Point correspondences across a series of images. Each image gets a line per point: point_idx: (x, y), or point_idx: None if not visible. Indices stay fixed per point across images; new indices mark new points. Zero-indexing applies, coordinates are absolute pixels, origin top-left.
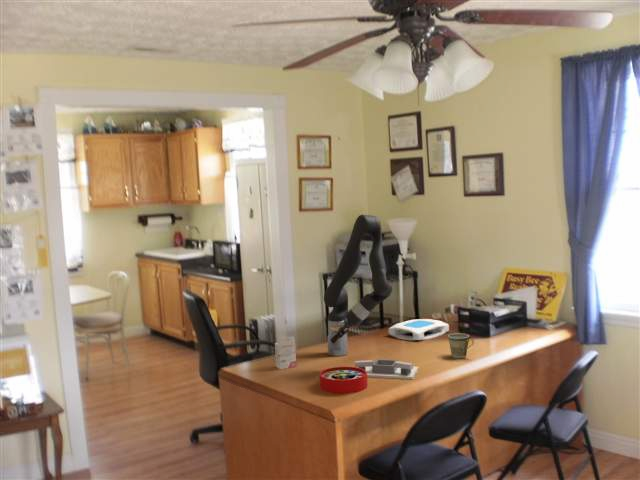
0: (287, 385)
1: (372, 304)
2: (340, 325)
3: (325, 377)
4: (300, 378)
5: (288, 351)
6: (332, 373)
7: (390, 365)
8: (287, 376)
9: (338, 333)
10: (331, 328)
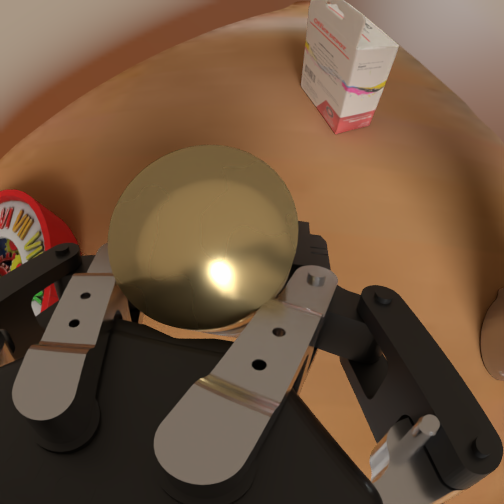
0: (100, 113)
1: None
2: (258, 341)
3: (1, 215)
4: (155, 143)
5: (327, 58)
6: (25, 247)
7: None
8: (199, 103)
9: (37, 263)
10: (170, 153)
